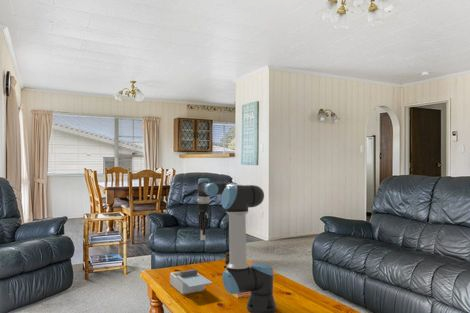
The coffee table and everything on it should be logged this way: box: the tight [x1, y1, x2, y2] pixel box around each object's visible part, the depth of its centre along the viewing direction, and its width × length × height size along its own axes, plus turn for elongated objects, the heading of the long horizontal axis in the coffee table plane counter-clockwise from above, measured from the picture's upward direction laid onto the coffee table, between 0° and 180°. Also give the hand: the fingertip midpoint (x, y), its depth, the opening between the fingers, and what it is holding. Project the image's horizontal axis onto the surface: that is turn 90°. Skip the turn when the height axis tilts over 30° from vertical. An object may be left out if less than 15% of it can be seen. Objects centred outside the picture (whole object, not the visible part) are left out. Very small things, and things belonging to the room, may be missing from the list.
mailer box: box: [169, 271, 206, 296], centre depth 219 cm, size 20×14×7 cm
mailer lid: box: [176, 268, 213, 288], centre depth 210 cm, size 20×14×4 cm
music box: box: [221, 251, 230, 271], centre depth 233 cm, size 15×11×20 cm
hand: (203, 239), depth 230 cm, fingers closed
